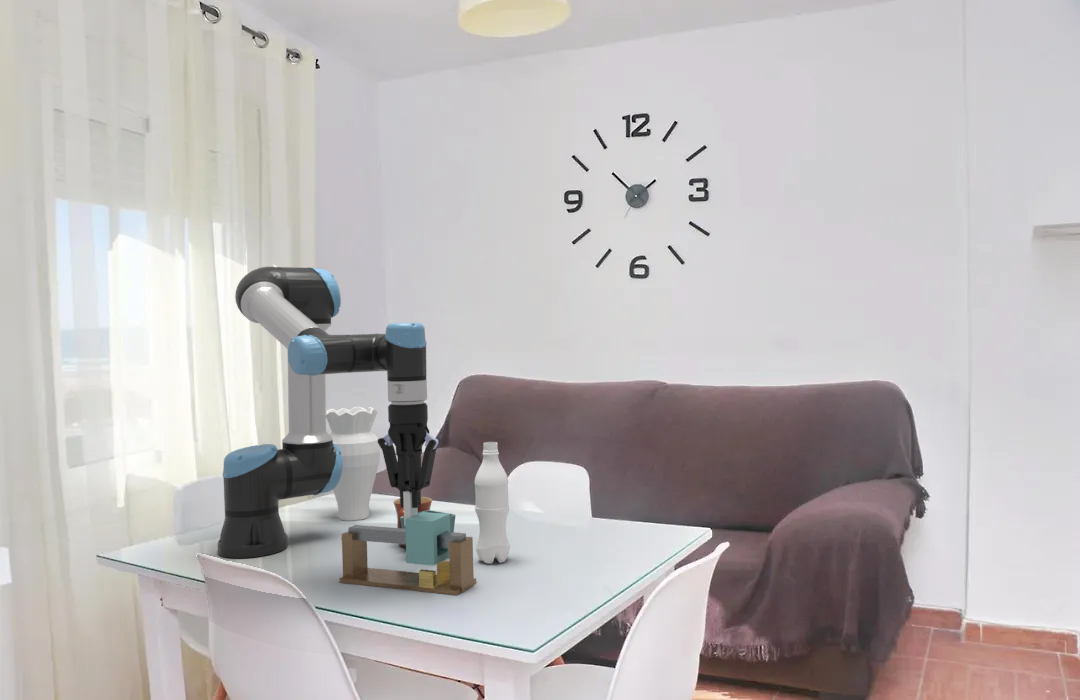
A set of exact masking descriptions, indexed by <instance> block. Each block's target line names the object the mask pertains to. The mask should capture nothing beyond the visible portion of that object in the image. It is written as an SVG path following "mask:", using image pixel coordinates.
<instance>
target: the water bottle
mask: <svg viewBox="0 0 1080 700" xmlns="http://www.w3.org/2000/svg"><path fill="white" fill-rule="evenodd" d="M482 448H483V450H482V456H483V458H482V462H481V464H480V466H479V468H478V469H477V472H476V475H475V477H474V489H475V490H474V491H475V492H474V494H475V495H474V496H475V506H474V511H475V513H476V516H477V519H478V525H479V535H478V538H477V539H478V540H477V543H476V547H475V549H476V550H475V551H476V555H477V558H478V559H479V561H481V562H484V564H489V565H490V564H491V565H492V564H493V563H494V560H495V559H496V560H497V562H498V563H500V564H502V563H504V562H505V561H507V559H508V556H509V554H510V549H511V544H510V543H509V539H508V537H507V531H506V530H507V529H506V526H507V525H506V524H507V518H508V514H509V512H510V505H509V478H508V475H507V473H506V471H505V469H504V467H503V465H502V463H501V461H500V459H499V454H500V452H499V449H498V442H497V441H486V442H483V447H482Z"/></svg>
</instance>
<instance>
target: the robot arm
mask: <svg viewBox="0 0 1080 700" xmlns="http://www.w3.org/2000/svg"><path fill="white" fill-rule="evenodd" d="M338 284H339V283H338V281H337V280H336V278H335V277H334V275H333V274H332V273H331V272H330V271H328V270H327V269H324V268H317V267H316V268H315V267H310V266H309V267H289V266H286V267H285V266H284V267H282V266H263V267H258V268H256V269H252V270H251V271H250V272H248V273H247V274H245V275H244V276H243V277H242V278H241V280H240V281H239V282H238V285H237V286H236V290H235V295H234V296H235V297H234V298H235V304H236V306H237V309H238V310H239V312H240V313H241V314H242V315H243V316H244V317H245V318H246V320H247V319H248V320H249V321H250V322H252V323H254V324H259V325H260V326H261V327H263V328H264V329H265V330H266V331H267V332H268V333H269V334H270V335H271V336H272V337H273V338H275V339H276V340H277V341H278V342H279V343H280V344H281V345H282V346H283V347H284V348H286V350H287V395H288V397H287V399H288V400H287V401H288V402H287V403H288V405H287V407H288V433H287V434H286V435H285V437H283V438H282V440H281V441H282V442H281V443H282V446H281V447H282V448H280V449H279V448H277V446H276V445H275V444H272V443H271V444H270V443H268V444H267V443H265V444H259V445H258V444H257V445H256V444H255V445H251V446H247V447H243V448H238V449H236V450H233V451H231V452H229V453H228V454H227V455H225V456H224V459H223V467H222V468H223V472H222V478H223V496H224V498H223V499H224V501H223V502H224V522H223V524H222V527H221V528H222V529H221V532H220V537H219V540H218V542H217V554H218V555H219V556H220V557H223V558H231V559H242V558H243V559H245V558H247V559H248V558H257V557H263V556H268V555H269V556H270V555H271V554H272V555H273V554H276V553H280V552H282V551H284V550H286V549H287V548H288V545H289V543H288V542H289V541H288V540H289V539H288V535H287V533H286V531H285V528H284V525H283V523H282V519H281V516H280V511H279V501H280V500H281V501H282V500H287V499H293V498H300V497H307V496H319V494H325V493H328V492H331V491H333V489H334V488H335V487H336V485H337V484H338V483H339V481H340V478H341V475H342V469H343V458H342V455H341V450H340V448H339V447H338V446H337V445H336V444H334V443H333V438H332V437H331V436H330V434H329V433H328V432H327V418H326V411H327V410H326V409H327V407H326V406H327V405H326V403H327V400H326V398H327V397H326V375H333V374H334V375H335V374H345V373H346V374H347V373H367V372H368V373H371V372H386V376H387V400H388V402H389V403H390V404H389V405H388V406H387V411H388V412H387V413H388V423H389V428H388V430H387V434H386V435H384V437H380V438H378V444H379V446H380V450H382V451H381V452H382V454H383V455H382V456H383V459H384V463H385V468H386V471H387V476H388V480H389V485H390V487H391V488H396V489H398V491H399V499H400V505H401V507H404V526H405V519H407V518H410V517H412V516H415V515H417V514H418V507H420V505H421V497H422V494H421V492H422V489H425V488H427V487H429V486H431V485H430V484H431V479H432V474H433V468H434V462H435V458H436V453H437V450H438V449H439V446H440V444H441V439H440V438H438V437H436V438H435V437H434V436H432V435H431V434H430V430H429V428H428V420H429V417H428V416H429V415H428V414H429V412H428V410H429V409H428V404H427V403H426V402H425V401H427V400H428V386H427V385H428V384H427V383H428V381H427V341H426V331H425V330H426V329H425V326H424V324H422V323H420V322H394V323H392V322H391V323H388V324H387V326H386V327H385V333H367V334H363V333H362V334H329V333H328V332H327V329H329V328H330V327H331V326H332V318H334V317H337V315H338V314H339V313H340V308H341V303H342V298H341V292H340V288H339V285H338ZM394 446H395V447H394ZM423 446H425V449H424V451H423ZM422 454H423V456H422Z"/></svg>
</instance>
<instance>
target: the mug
mask: <svg viewBox="0 0 1080 700" xmlns="http://www.w3.org/2000/svg"><path fill="white" fill-rule="evenodd" d="M432 502H433V499H432V498H431V497H428V496H421V505H420V507H418V513H419V512H423V511H427V510H431V506H432ZM393 504H394V505H393V506H394V507H395V511H396V515H397V518H396V519H397V521H396V523H397V524H396V525H397V527H396V528H402V526H401V520H400V517H402V516H404V507H401V505H400V498H397V499H395V500H394V501H393ZM399 546H401V547H402V548H405V549H406V544H399Z"/></svg>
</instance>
